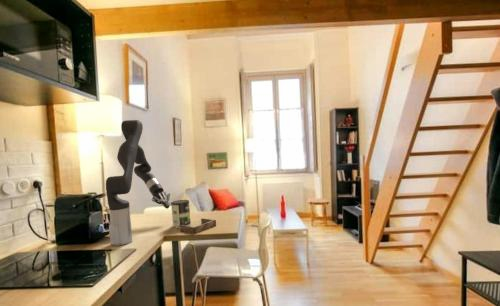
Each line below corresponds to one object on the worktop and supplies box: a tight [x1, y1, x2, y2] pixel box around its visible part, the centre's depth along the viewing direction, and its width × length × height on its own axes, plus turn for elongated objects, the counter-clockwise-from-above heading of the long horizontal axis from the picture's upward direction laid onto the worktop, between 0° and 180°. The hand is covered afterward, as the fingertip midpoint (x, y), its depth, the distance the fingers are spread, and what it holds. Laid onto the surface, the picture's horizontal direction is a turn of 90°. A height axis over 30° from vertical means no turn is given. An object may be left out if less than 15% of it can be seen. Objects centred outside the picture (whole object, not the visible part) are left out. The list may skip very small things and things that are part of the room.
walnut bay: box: [180, 217, 217, 234], centre depth 155 cm, size 16×11×3 cm
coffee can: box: [170, 199, 192, 229], centre depth 164 cm, size 10×10×14 cm
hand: (168, 207), depth 171 cm, fingers closed
